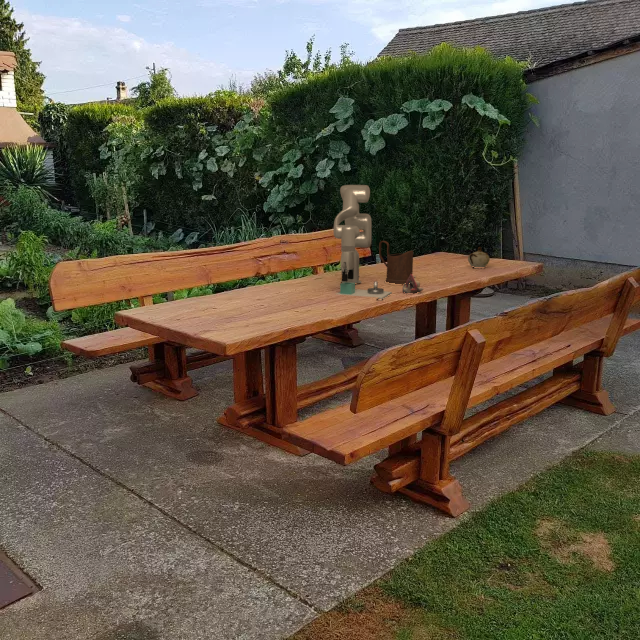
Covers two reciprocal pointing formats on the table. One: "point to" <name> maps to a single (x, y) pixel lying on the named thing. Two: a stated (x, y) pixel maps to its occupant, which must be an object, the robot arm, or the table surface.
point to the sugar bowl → (478, 258)
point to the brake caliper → (412, 285)
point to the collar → (347, 288)
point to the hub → (375, 289)
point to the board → (367, 294)
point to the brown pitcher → (397, 266)
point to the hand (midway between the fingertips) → (347, 280)
